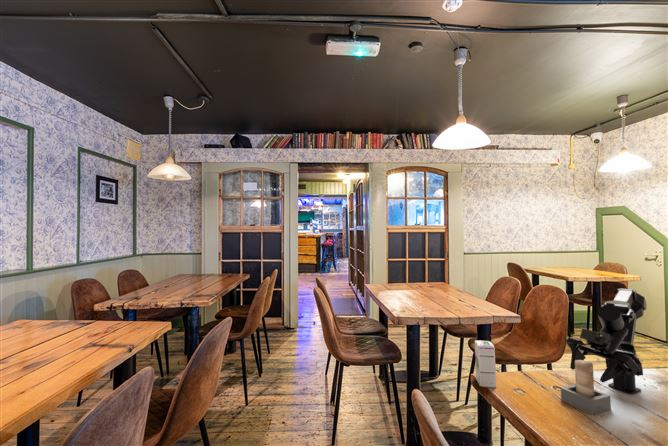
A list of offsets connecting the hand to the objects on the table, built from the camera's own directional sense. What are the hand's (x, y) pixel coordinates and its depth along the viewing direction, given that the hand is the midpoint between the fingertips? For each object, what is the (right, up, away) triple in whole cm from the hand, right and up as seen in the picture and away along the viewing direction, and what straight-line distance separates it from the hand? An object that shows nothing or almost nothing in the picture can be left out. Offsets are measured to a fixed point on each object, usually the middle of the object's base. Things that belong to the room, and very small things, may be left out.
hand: (585, 374), depth 99 cm
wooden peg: (-1, -9, -1) cm, 9 cm away
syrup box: (-25, -10, +14) cm, 30 cm away
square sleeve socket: (-1, -9, -1) cm, 9 cm away
